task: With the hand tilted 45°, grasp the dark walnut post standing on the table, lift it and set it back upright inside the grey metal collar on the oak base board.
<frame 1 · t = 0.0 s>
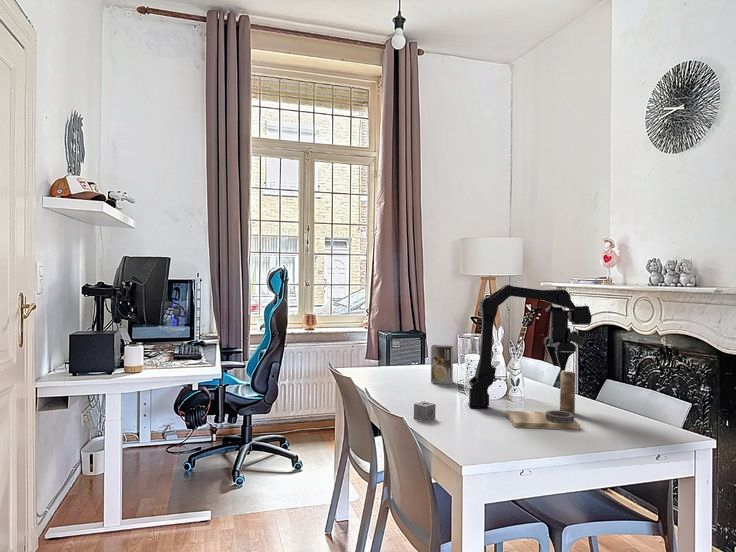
hand: (558, 368, 188), 15 cm above the table, fingers open, 9 cm apart
dice cube: (424, 419, 173), on the table
coffee box: (441, 382, 231), on the table
walnut post: (567, 412, 183), on the table
oak socket board: (541, 422, 171), on the table
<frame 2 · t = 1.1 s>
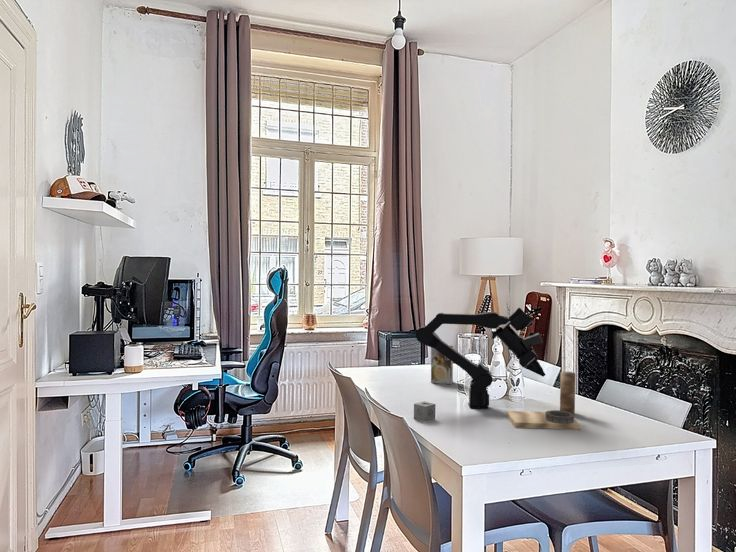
hand: (543, 373, 185), 13 cm above the table, fingers open, 9 cm apart
nothing on the table moved.
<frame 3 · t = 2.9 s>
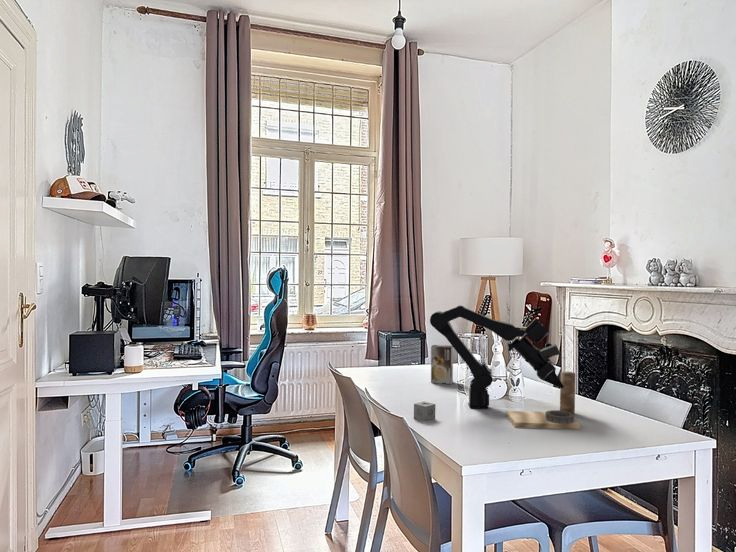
hand: (561, 384, 183), 10 cm above the table, fingers open, 9 cm apart
nothing on the table moved.
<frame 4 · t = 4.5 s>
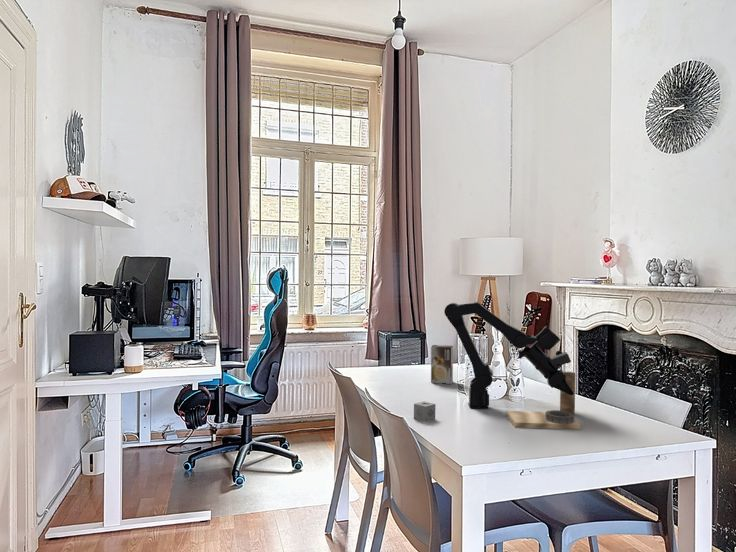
hand: (571, 392, 182), 7 cm above the table, fingers closed on walnut post, 5 cm apart
walnut post: (567, 412, 183), on the table, touching gripper
everything else where it was.
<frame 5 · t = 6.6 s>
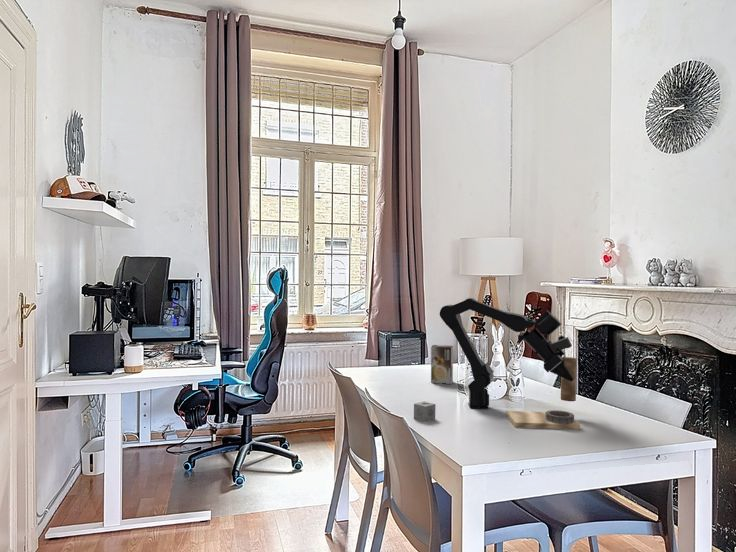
hand: (572, 379, 177), 13 cm above the table, fingers closed on walnut post, 5 cm apart
walnut post: (568, 399, 177), point 6 cm above the table, touching gripper
everything else where it was.
when the fingers open (9 cm above the table, at t = 8.7 s): walnut post stays where it is, resting on oak socket board.
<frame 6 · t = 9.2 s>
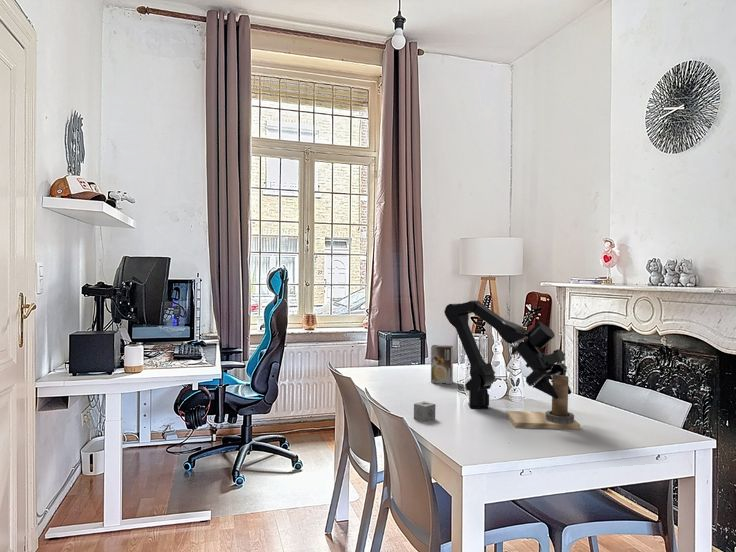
hand: (564, 395, 167), 10 cm above the table, fingers open, 9 cm apart
walnut post: (559, 419, 168), point 2 cm above the table, touching oak socket board
everything else where it was.
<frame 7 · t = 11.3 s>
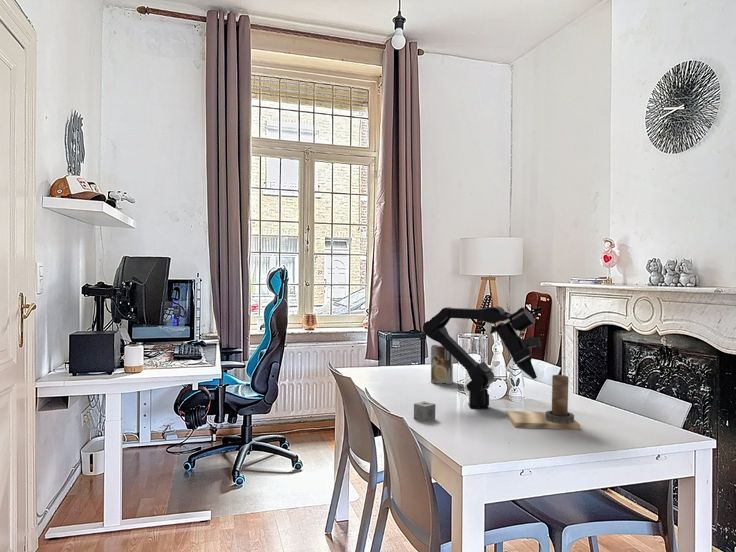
hand: (535, 378, 178), 13 cm above the table, fingers open, 9 cm apart
nothing on the table moved.
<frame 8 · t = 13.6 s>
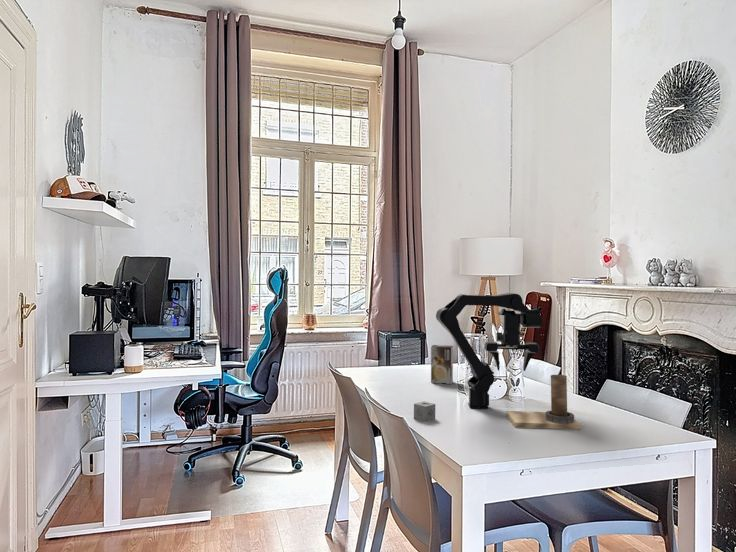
hand: (511, 370, 191), 13 cm above the table, fingers open, 9 cm apart
nothing on the table moved.
at the end: walnut post 0.0 cm from the target spot, point 1.6 cm above the table; walnut post tilted 2°; the gripper is holding nothing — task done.
